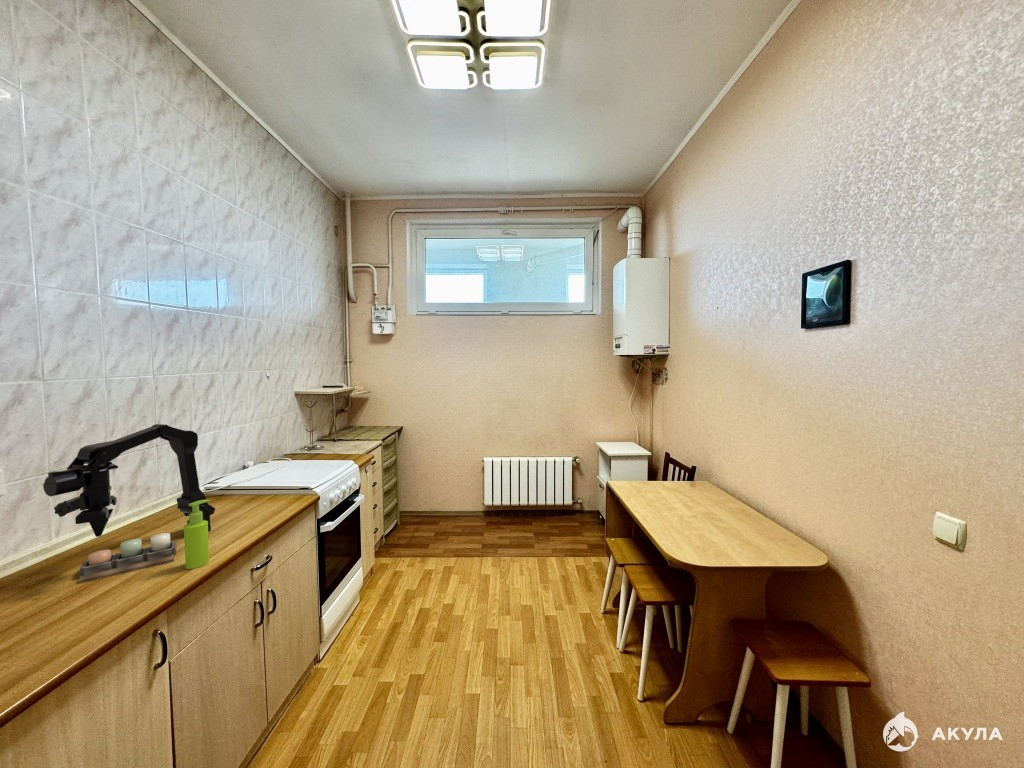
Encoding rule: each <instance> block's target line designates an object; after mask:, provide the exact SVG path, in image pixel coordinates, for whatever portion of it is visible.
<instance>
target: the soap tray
mask: <svg viewBox="0 0 1024 768" xmlns="http://www.w3.org/2000/svg"><path fill="white" fill-rule="evenodd" d="M177 542H178V541H177V540H175V541H173V540H172V541H170V547H169V548H167V549H164V550H160V551H151V545H150V546H146V547H145V546H143V547H142V553H140V554H138V555H136V556H133V557H128V558H122V557H121V552H118V553H111V561H110V562H106V563H101V564H97V565H92V566H89V559H85V560H84V561H83V563H82V564H81V566H80V567H79V579H78V580H77V582H78V583H77V584H83V583H87V582H92V581H96V580H100V579H104V578H108V577H113V576H117V575H121V574H125V573H131V572H134V571H137V570H143V569H148V568H151V567H155V566H160V565H163V564H168V563H173V562H174V561H175V556H176V554H177V548H178V546H177V545H178V544H177Z"/></svg>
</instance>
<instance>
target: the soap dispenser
mask: <svg viewBox="0 0 1024 768" xmlns="http://www.w3.org/2000/svg"><path fill="white" fill-rule="evenodd" d="M205 502H208V503H209V502H211V499H207V500H199V501H196V502H193V503H190V504H189V506H192V512H191V513H190V514H189V516H188V520H189V523H188V524H187V523H186V524H184V526H183V530H184V531H183V532H184V533H183V535H184V558H185V559H184V560H185V563H184V564H185V569H188V570H193V569H199V568H202V567H204V566H206V565H208V564H209V563H210V550H209V549H210V548H209V546H210V544H209V543H210V542H209V531H208V521H205V520H203V512H202V511H199V504H202V503H205Z"/></svg>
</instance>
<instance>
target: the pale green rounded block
mask: <svg viewBox="0 0 1024 768" xmlns="http://www.w3.org/2000/svg"><path fill="white" fill-rule="evenodd" d="M142 544H143V543H142V538H133V539H128V540H126V541H123V542H121V543H120V553H121V557H122V558H128V557H133V556H136V555H138V554H140V553H142V548H143V547H142V546H143V545H142Z"/></svg>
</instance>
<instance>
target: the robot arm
mask: <svg viewBox="0 0 1024 768" xmlns="http://www.w3.org/2000/svg"><path fill="white" fill-rule="evenodd" d="M159 438H160V439H162V440H165V441H168V443H169V446H170V449H172V451H173V452H174V453H175V455H176V457H177V463H178V469H179V475H180V476H179V477H180V481H181V488H182V493H181V495H180V497H177V498H176V503H177V507H176V508H177V509H179V511H180V512H181V513H183V515H184V516H185V517H189V514H190V513H191V512H192V506H189V504H190V503H193V502H196V501H199V500H208V499H207V497H206V495H205V493H204V492H203V491H202V490H201V488H200V483H199V476H198V469H197V464H196V457H195V456H196V455H195V452H196V450H197V447H198V445H199V435H198V433H197V432H195V431H193V430H183V429H180V428H176V427H173V426H170V425H168V424H159V423H155V424H153V425H152V426H149V427H147V428H144V429H140V430H139V431H135V432H134V433H133V432H132V433H129V434H127V435H125V436H122V437H120V438H116V439H114V440H109V441H103V442H97V443H93V444H88V445H84V446H83V447H81V448H80V449H79V451H78V452H77V456H76V457H75V458H74V459H73V460H72V462H71V463H70V464H69V465H68V467H66V469H64V470H58V471H57V470H55V471H49V472H48V473H47V476H46V478H45V480H44V482H43V484H42V487H43V491H44V493H45V494H46V496H48V497H55V496H60V495H65V494H68V493H73V492H77V491H80V490H81V489H82V492H81V493H80V494H79V496H76V497H73V498H71V499H68V500H64V501H62V502H59V503H57V505H56V506H54V507H53V509H54V514H55V515H58V517H59V518H61V517H62V518H63V517H64V516H66V515H68V514H70V513H72V512H76V511H78V510H79V511H80V512H79V513H77V515H76V516H75V517H74V518H75V520H74V522H75V524H76V525H82V524H86V523H89V525H90V527H91V529H92V532H93V533H94V536H95V537H96V538H98V537H101V536H102V535H103V533H104V530H105V528H106V527H107V524H108V522H109V520H110V518H111V515H112V513H113V511H114V508H110V509H109V508H108V507H109V506H111V505H112V506H116V505H117V504H118V499H117V497H116V496H115V495H111V491H112V485H111V481H110V479H111V478H110V471H111V470H115V469H118V468H119V465H117V464H114V463H113V462H112V461H113V460H116V459H117V458H118V457H119V456H120V455H122V454H123V453H125V452H127V451H128V450H131V449H134V448H136V447H139V446H141V445H144V444H146V443H149V442H151V441H153V440H157V439H159ZM199 511H202V512H203V520H205V521H208V532H211V531H212V525H211V516H212V515H214V513H215V511H216V507H214V506H213V505H211V504H209V502H205V503H202V504H199ZM188 523H189V519H187V520H186V524H188Z"/></svg>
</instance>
